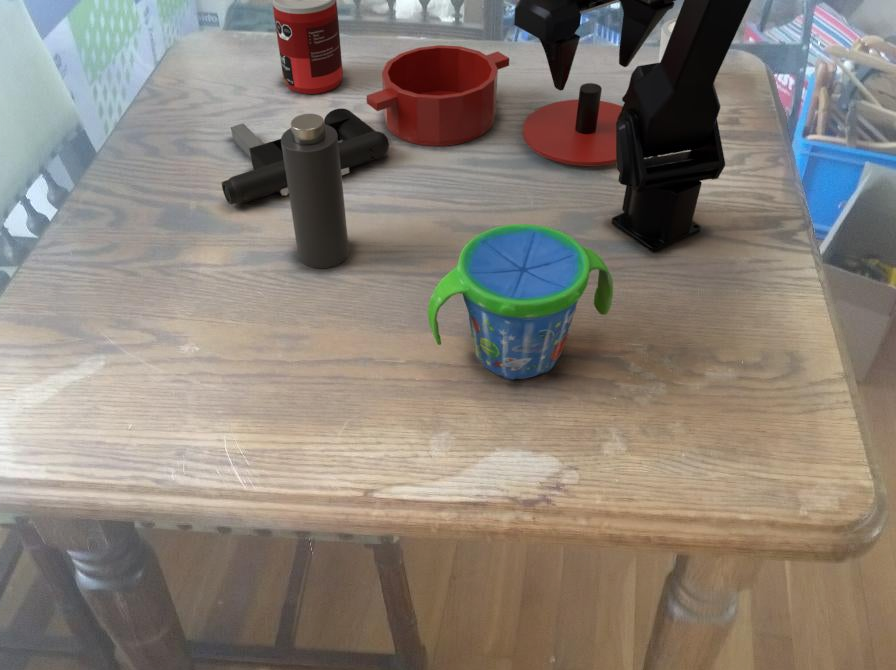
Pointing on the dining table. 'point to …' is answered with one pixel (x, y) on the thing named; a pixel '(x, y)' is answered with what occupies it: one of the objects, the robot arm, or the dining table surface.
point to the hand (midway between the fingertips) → (591, 77)
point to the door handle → (269, 161)
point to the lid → (575, 129)
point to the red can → (309, 44)
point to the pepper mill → (315, 191)
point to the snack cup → (521, 295)
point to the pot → (439, 94)
